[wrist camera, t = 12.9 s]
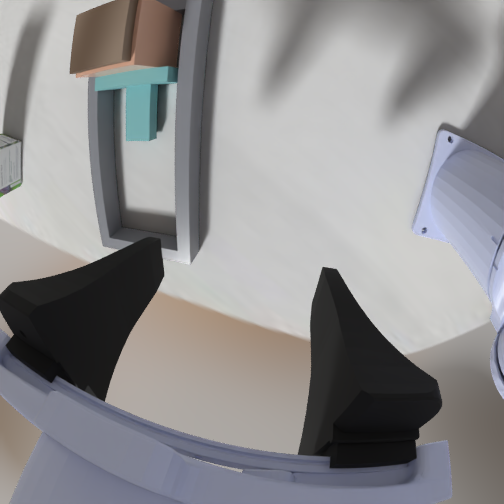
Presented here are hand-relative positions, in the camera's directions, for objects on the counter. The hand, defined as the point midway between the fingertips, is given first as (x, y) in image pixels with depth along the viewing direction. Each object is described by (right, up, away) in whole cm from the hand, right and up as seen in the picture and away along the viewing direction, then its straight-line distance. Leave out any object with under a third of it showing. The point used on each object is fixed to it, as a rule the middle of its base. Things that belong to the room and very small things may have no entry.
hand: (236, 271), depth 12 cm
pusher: (-7, +11, +4) cm, 14 cm away
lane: (-7, +10, +5) cm, 13 cm away
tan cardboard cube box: (-6, +15, +2) cm, 17 cm away
